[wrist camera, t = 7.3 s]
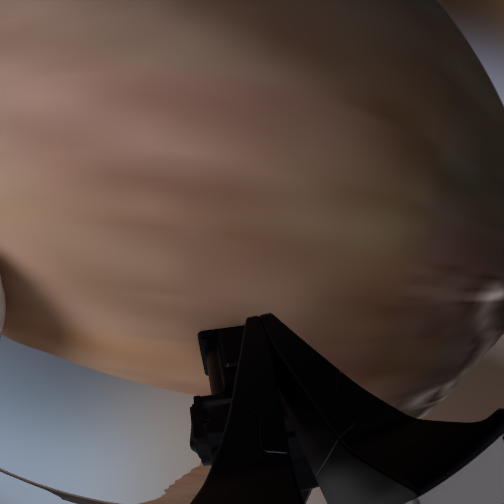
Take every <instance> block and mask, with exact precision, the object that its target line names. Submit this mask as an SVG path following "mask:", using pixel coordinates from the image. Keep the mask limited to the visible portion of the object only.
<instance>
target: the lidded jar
mask: <svg viewBox="0 0 504 504" xmlns="http://www.w3.org/2000/svg"><path fill="white" fill-rule="evenodd" d="M5 313H6V302H5V294H4V289H3V285H2V278H1V274H0V337H1V334H2V330H3V326H4V322H5Z"/></svg>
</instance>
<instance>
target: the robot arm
mask: <svg viewBox="0 0 504 504" xmlns="http://www.w3.org/2000/svg"><path fill="white" fill-rule="evenodd" d="M202 336H204V337H202ZM198 340H199V345H200V351H201V356H202V361H203V366H204V370H205V374H206V375H207V376H209V381H210V388H211V394H212V395H208V396H194V404H192V407H190V414H191V424H192V425H191V436H190V447H191V449H192V450H193V451H195V452H196V453H197V454H198V456H199V458H200V459H201V461H202V463H203V465H204V466H211V469H210V472H209V474H208V476H207V478H206V480H205V482H204V484H203V486H202V488H201V489H200V491H199V492H198V493H197V495H196V496H195V498H194V499H193V500H192V502H191V503H190V504H306V501H307V500H308V497H309V495H310V493H311V491H312V489H313V488H316V487H320V489H321V491H322V493H323V495H324V497H325V499H326V501H327V504H504V435H503V436H501V435H502V434H504V409H503V408H499V409H498V410H496V411H495V412H494V413H493V414H492V415H491V416H489V417H488V418H487V419H485V420H482V421H479V422H472V423H462V422H445V421H431V420H422V419H417V418H414V417H411V416H409V415H406V414H404V413H403V412H401V411H399V410H397V409H396V408H394V407H392V406H391V405H389V404H387V403H386V402H384V401H382V400H381V399H379V398H377V397H376V396H374V395H372V394H371V393H369V392H368V391H366V390H365V389H363V388H362V387H360V386H359V385H358V384H356V383H355V382H354V381H352V380H351V379H350V378H348V377H347V376H346V375H345V374H344V373H342V372H341V373H340V370H339V369H337V368H336V367H335V366H334V365H332V364H331V363H330V362H329V361H328V360H326V359H325V358H324V357H323V356H322V355H320V354H319V353H318V352H317V351H316V350H314V349H313V348H312V347H311V346H310V345H308V344H307V343H306V342H305V341H304V340H302V339H301V338H300V337H299V336H298V335H296V334H295V333H294V332H293V331H292V330H291V329H289V328H288V327H287V326H286V325H285V324H284V323H282V322H281V321H280V320H279V319H278V318H277V317H275V316H274V315H273V314H271V313H268V314H263V315H260V316H253V317H248V318H247V319H246V323H245V325H244V326H238V327H230V328H223V329H215V330H207V331H201V332H199V333H198Z"/></svg>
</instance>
